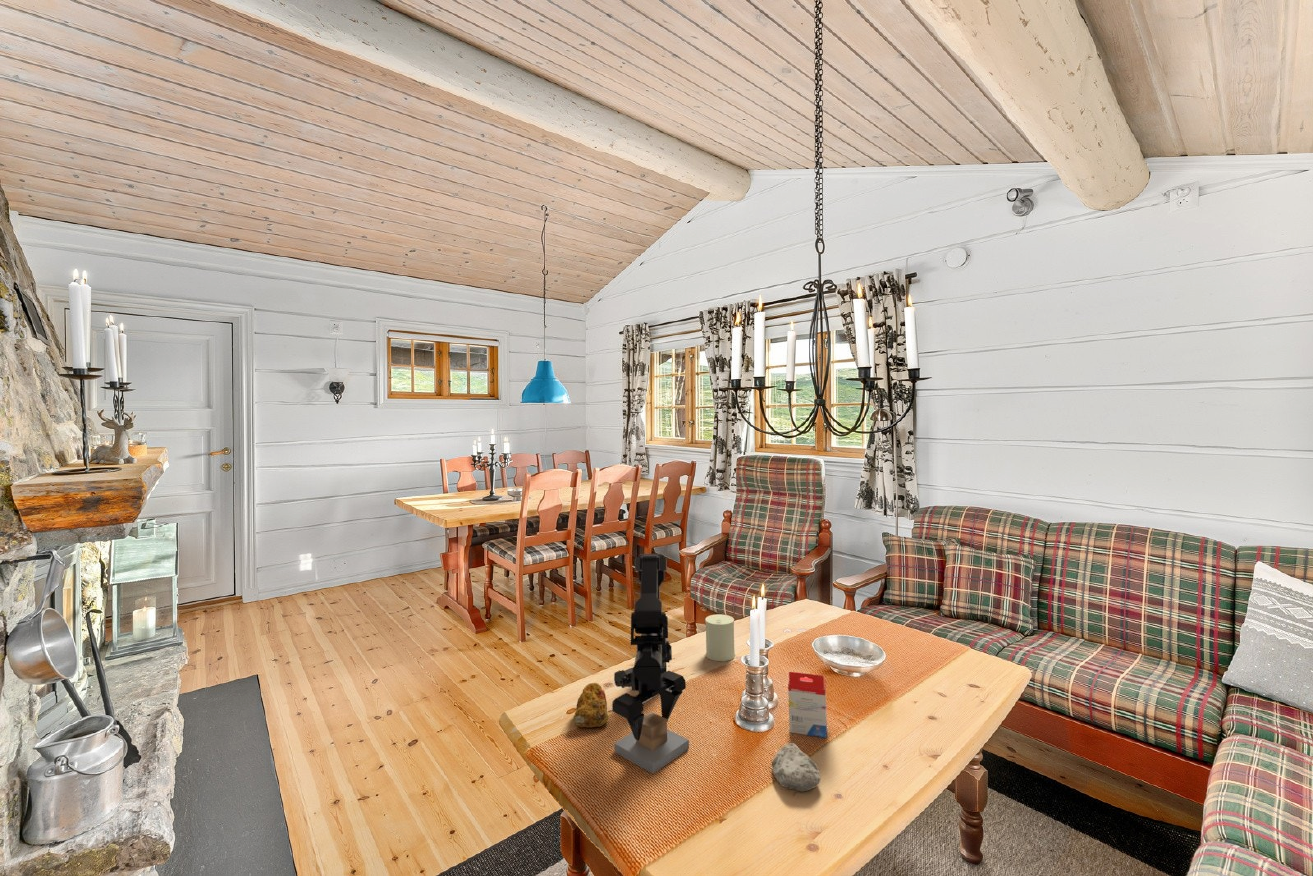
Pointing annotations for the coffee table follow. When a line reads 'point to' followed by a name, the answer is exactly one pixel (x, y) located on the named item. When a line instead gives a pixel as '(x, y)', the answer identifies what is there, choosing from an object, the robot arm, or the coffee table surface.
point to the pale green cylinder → (720, 637)
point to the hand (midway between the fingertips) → (651, 730)
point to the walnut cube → (653, 731)
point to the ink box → (807, 704)
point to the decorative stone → (795, 769)
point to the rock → (591, 707)
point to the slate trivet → (648, 757)
